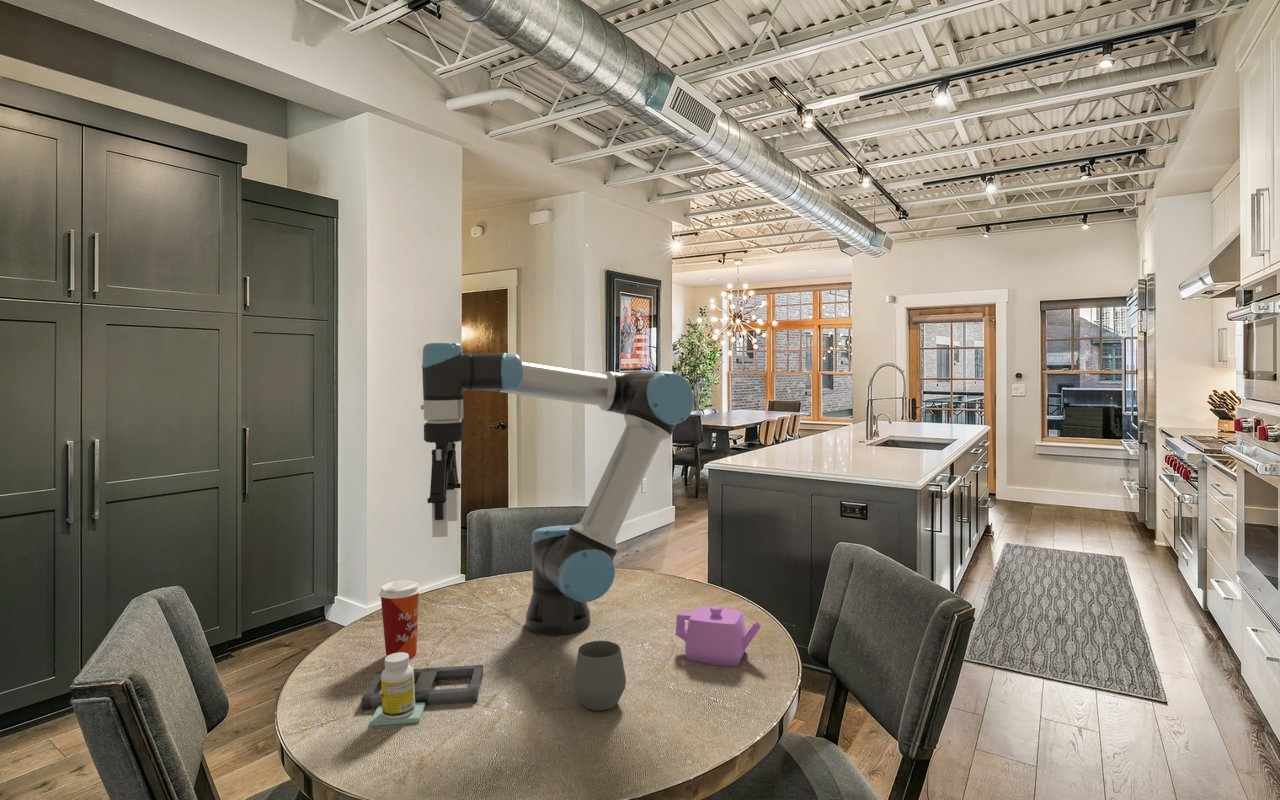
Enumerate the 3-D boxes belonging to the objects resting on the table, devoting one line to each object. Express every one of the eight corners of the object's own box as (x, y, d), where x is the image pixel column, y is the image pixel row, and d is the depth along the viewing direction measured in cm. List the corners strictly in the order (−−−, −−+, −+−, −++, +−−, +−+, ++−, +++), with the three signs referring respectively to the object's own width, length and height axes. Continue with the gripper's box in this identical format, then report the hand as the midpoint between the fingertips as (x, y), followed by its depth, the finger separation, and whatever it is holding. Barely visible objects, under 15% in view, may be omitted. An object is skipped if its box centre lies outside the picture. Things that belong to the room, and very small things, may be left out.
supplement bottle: (387, 705, 120) (386, 650, 120) (418, 704, 120) (417, 649, 120) (377, 720, 115) (376, 664, 114) (410, 719, 115) (408, 662, 114)
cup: (577, 691, 126) (576, 638, 126) (627, 691, 126) (626, 638, 126) (570, 716, 117) (569, 660, 117) (624, 717, 117) (624, 660, 116)
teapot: (765, 651, 144) (765, 603, 143) (756, 672, 134) (756, 621, 133) (683, 640, 150) (683, 595, 149) (669, 660, 140) (669, 611, 139)
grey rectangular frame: (483, 674, 134) (482, 664, 133) (477, 701, 123) (476, 690, 123) (377, 681, 131) (377, 671, 131) (361, 709, 120) (361, 698, 120)
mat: (425, 706, 121) (425, 702, 121) (419, 722, 116) (419, 717, 116) (378, 709, 120) (378, 705, 120) (370, 726, 114) (370, 721, 114)
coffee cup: (408, 665, 138) (407, 592, 138) (372, 662, 140) (370, 590, 139) (429, 648, 146) (428, 580, 146) (395, 645, 148) (393, 578, 147)
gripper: (434, 417, 145) (436, 515, 146) (410, 427, 121) (413, 544, 122) (470, 416, 146) (472, 514, 147) (454, 426, 122) (456, 543, 122)
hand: (445, 528), depth 134 cm, fingers open, 13 cm apart
